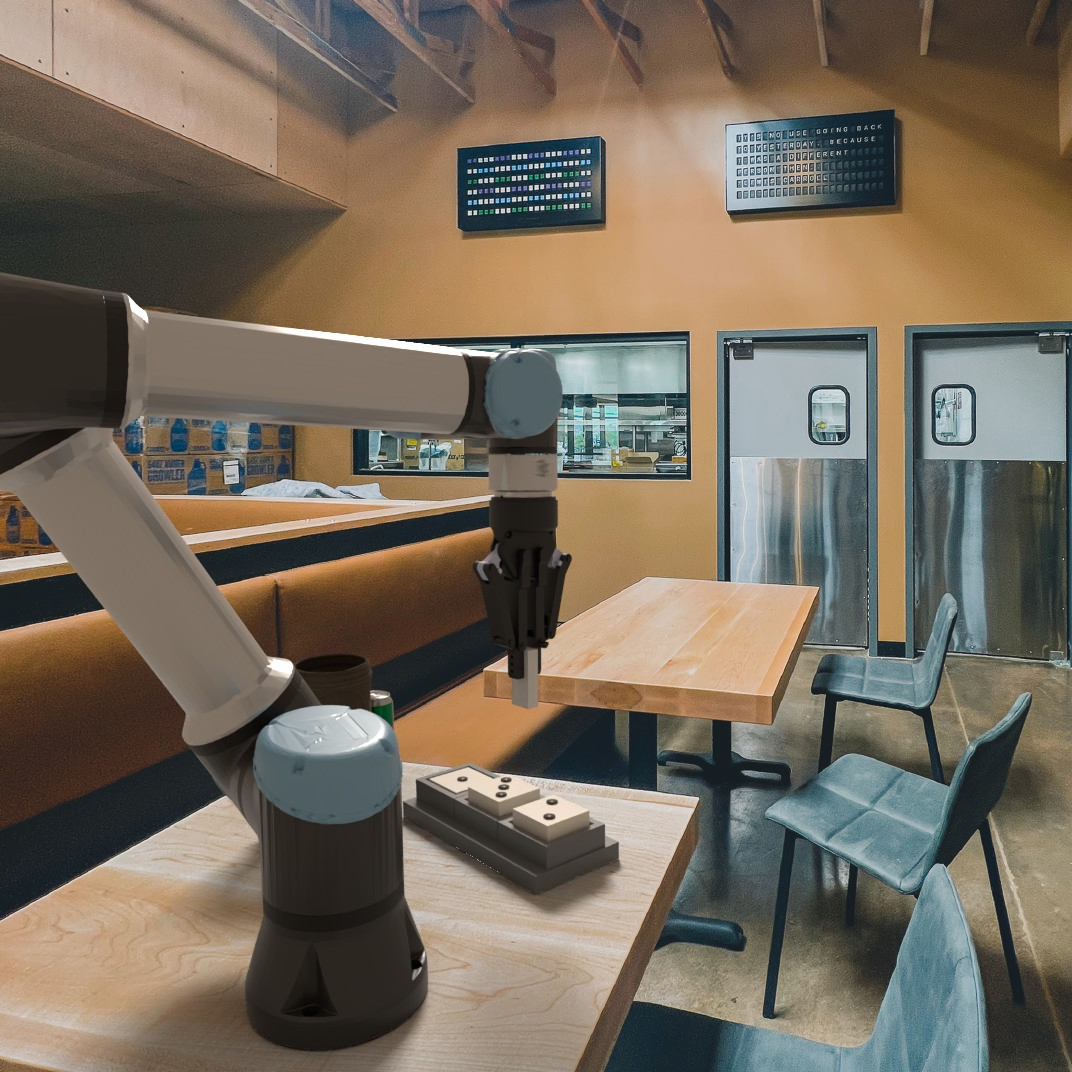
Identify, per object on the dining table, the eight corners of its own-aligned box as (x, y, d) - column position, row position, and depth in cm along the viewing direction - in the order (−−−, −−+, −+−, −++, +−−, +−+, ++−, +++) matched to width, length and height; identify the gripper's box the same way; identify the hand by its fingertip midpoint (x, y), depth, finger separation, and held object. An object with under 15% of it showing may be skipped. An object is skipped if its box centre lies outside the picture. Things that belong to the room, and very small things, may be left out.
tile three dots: (499, 823, 101) (498, 800, 101) (468, 807, 106) (468, 785, 106) (540, 808, 105) (539, 787, 105) (508, 793, 110) (508, 773, 109)
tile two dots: (548, 848, 95) (547, 824, 94) (513, 830, 99) (512, 807, 99) (589, 832, 99) (589, 809, 98) (554, 815, 103) (553, 793, 103)
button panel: (535, 895, 92) (535, 853, 92) (403, 816, 112) (402, 781, 112) (618, 859, 100) (618, 820, 99) (481, 791, 120) (480, 758, 119)
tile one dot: (456, 812, 108) (456, 791, 108) (429, 798, 113) (429, 777, 112) (496, 799, 112) (496, 779, 111) (468, 785, 116) (468, 766, 116)
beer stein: (354, 787, 122) (339, 645, 119) (402, 809, 114) (387, 657, 111) (249, 830, 111) (230, 675, 108) (294, 857, 104) (274, 691, 100)
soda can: (379, 769, 128) (376, 687, 127) (403, 777, 125) (400, 693, 124) (351, 780, 125) (348, 695, 123) (375, 788, 121) (372, 702, 120)
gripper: (500, 498, 91) (502, 725, 93) (589, 493, 100) (589, 700, 102) (454, 495, 96) (458, 710, 98) (543, 490, 105) (544, 688, 107)
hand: (524, 705), depth 100 cm, fingers closed
